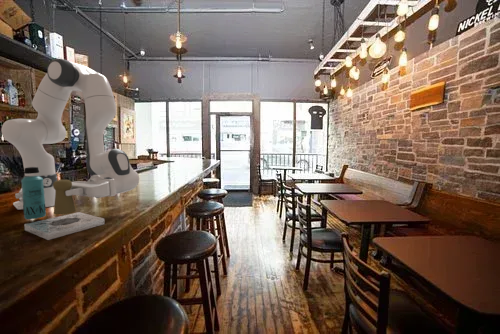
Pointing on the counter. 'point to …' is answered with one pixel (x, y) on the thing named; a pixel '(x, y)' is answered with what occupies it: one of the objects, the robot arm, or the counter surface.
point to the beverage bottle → (33, 195)
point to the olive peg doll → (63, 197)
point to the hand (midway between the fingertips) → (60, 192)
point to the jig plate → (56, 229)
